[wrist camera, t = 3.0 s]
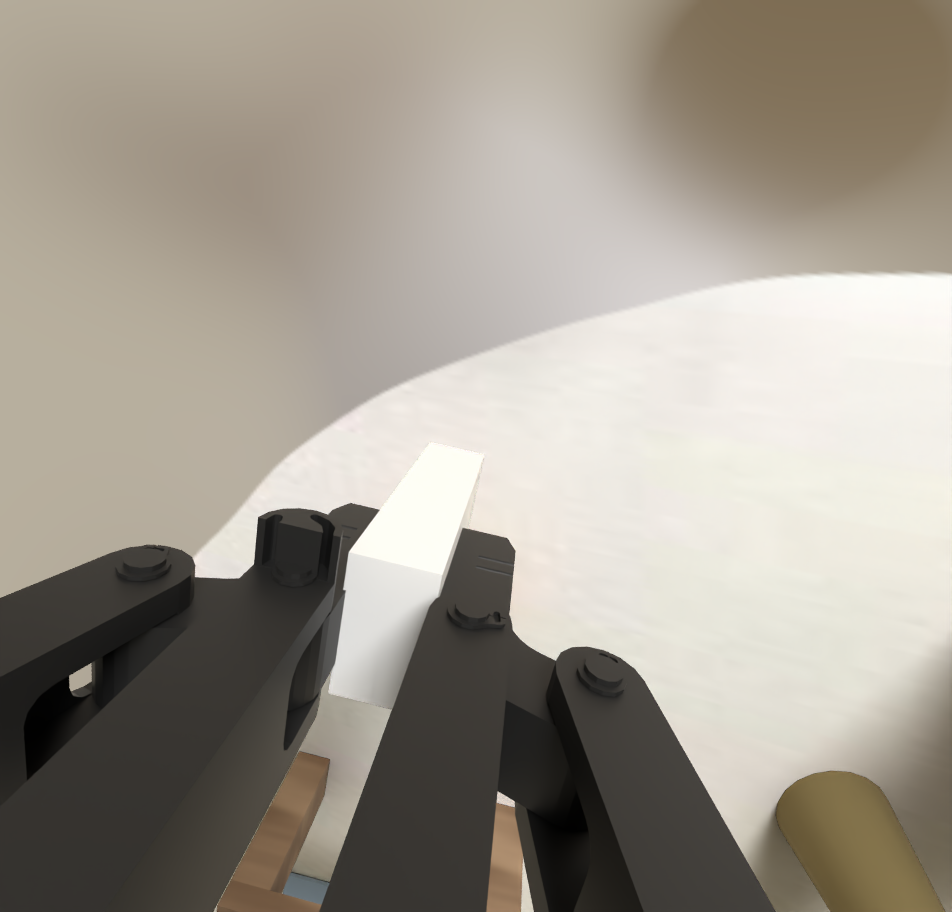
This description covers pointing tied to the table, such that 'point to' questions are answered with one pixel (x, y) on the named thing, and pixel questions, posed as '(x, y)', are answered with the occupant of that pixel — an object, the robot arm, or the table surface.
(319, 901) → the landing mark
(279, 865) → the bridge
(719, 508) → the table surface
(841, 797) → the cork
